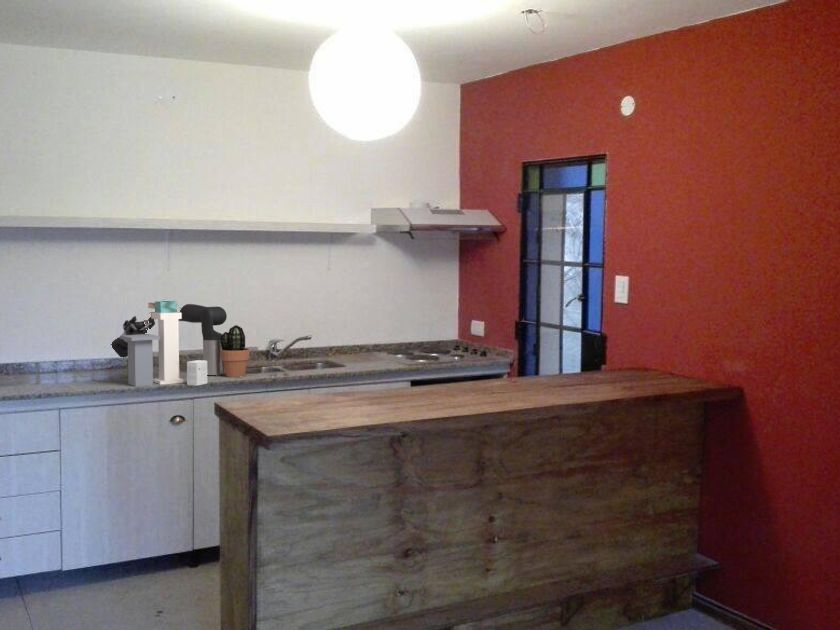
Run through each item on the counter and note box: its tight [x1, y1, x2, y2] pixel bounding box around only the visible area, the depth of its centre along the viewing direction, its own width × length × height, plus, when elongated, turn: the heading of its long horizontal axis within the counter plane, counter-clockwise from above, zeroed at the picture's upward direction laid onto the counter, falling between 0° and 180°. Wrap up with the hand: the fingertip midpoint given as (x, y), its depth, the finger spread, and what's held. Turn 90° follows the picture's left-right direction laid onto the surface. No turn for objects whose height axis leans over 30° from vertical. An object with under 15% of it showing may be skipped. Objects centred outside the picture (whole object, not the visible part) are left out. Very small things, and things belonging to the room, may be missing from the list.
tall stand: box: [150, 312, 184, 385], centre depth 387 cm, size 11×10×32 cm
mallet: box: [147, 300, 178, 313], centre depth 391 cm, size 8×20×5 cm, turn 41°
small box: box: [186, 359, 208, 387], centre depth 382 cm, size 8×6×10 cm
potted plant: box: [220, 324, 251, 378], centre depth 408 cm, size 14×14×25 cm
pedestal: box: [119, 333, 160, 387], centre depth 379 cm, size 13×13×22 cm
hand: (144, 317), depth 405 cm, fingers open, 8 cm apart
